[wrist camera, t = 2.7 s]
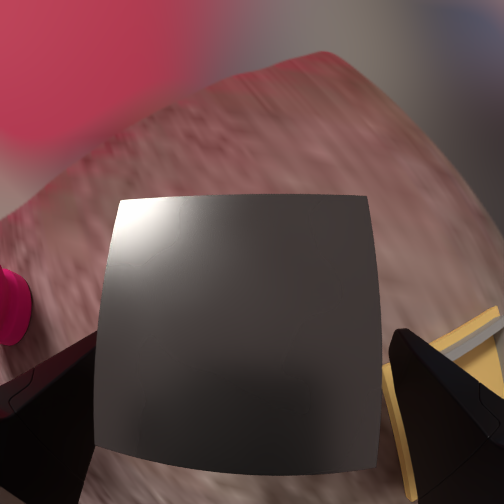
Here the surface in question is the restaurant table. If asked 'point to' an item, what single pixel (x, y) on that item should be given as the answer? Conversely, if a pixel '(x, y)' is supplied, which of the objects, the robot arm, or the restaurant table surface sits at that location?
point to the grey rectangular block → (241, 334)
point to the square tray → (465, 356)
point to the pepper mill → (13, 307)
